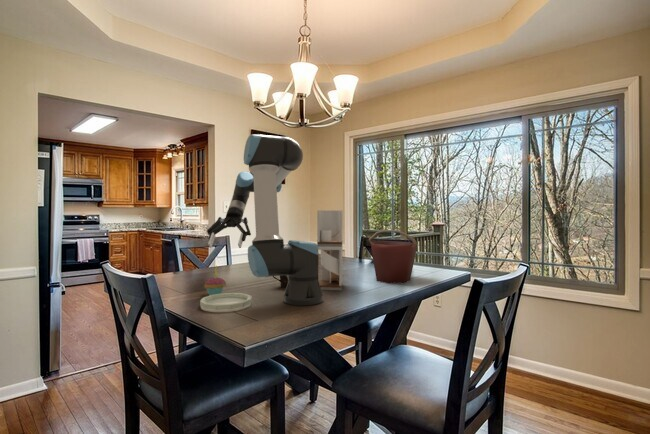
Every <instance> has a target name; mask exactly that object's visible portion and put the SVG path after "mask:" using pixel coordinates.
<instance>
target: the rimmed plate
mask: <svg viewBox="0 0 650 434" xmlns="http://www.w3.org/2000/svg"><path fill="white" fill-rule="evenodd" d="M199 301H200V302H199V306H200V309H201V310H202V311H204V312H207V313H208V312H209V313H232V312H238V311H243V310H245V309H248V308H249V307H251V306H252V295H249V294H247V293H243V292H242V293H241V292H225V293H224V292H223V293H221V294H215V295H210V296H209V295H207V296H204V297H202V298H201V299H200V300H199Z"/></svg>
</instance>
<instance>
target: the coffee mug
mask: <svg viewBox="0 0 650 434" xmlns="http://www.w3.org/2000/svg"><path fill="white" fill-rule="evenodd" d="M272 278H274V279H275V280H277V281H279V282H280V288H282V289H286V287H287V284H288V275H283V276H279V278H277V276H272Z"/></svg>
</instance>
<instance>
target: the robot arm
mask: <svg viewBox="0 0 650 434" xmlns="http://www.w3.org/2000/svg"><path fill="white" fill-rule="evenodd" d="M243 151H244V152H243V164H244V165H246V166H248V171H250V172H248V171H241V172H239V173H238V174H237V176H236V180H235V184H234V190H233V194H232V198H231V201H230V204H229V206H228V209H227V211H226V215H225V217H224V218H222V217H221V216H219V217H218V218H217V220H215V222H214V223H213V224H212V225H210V227H208V229H207V230H206V232H207V234H208V242H207V243H208V244H207V245H208V247H209V248H212V247H213V244H214V243H215V242H214V241H215V239H216V235H217V234H219V233H220V232H221V231H223V230H225V229H228V228H237V229H238V230H239V232H240V237H239V239H238V242H237V245H238V246H237V247H238V248H239V249H242V245H243V242H246V238H247V236H249V237H250V236H251V235H252V233H251V230H250V228H249V225H248V223H249V222H248V219H247V216H246V217H245V216H244V213H245V210H246V206H247V204H248V200H249V197H250V193H253V199H254V200H253V201H254V219H255V220H254V221H255V237H254V238H253V240H252V241H251V245H249V246H248V247H247V261H248V265H249V269H250V272H251V274H252V275H253V276H254V277H256V278H269V277H270V278H271V277H273V276H274V277H280V276H283V275H288V284H287V287H286V288H285V291H284V294H283V302H284V303H285V304H287V305H292V306H312V305H318V304H320V303H322V302H323V301H324V294H323V290H321V287H320V284H319V281H320V280H319V265H320V264H319V257H320V254H319V250H318V246H317V243H315V242H311V241H304V240H295V239H290V240H289V239H288V242H287V244H285V241H284V238H283V237H282V236H281V235H280V228H279V210H278V209H279V208H278V206H279V205H278V193H279V192H281V190H282V185H283V184H282V182H283V181H284V180H285V179H286V178H287V177H288V175H289V174H291V172H293V171H295V170H297V169H298V168H299V167H300V166H301V165H302V163H303V159H304V154H303V149H302V148H301V145H300V144H299V143H298V142H297V141H296V140H294V139H293V138H290V137H287V136H279V135H268V134H267V135H266V134H261V133H260V134H253V133H252V134H250V135H249V136H248V137H247V139H246V141H245V145H244V150H243ZM243 216H244V218H243ZM241 223H243V224H244V226H245V229H246V230H245V229H244V228H243V226H242V225H241Z"/></svg>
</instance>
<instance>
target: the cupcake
mask: <svg viewBox="0 0 650 434" xmlns="http://www.w3.org/2000/svg"><path fill="white" fill-rule="evenodd" d="M214 270H215V272H214V273H215V274H214V277H210V278H208V279H207V280H206V281H205V282H204V288H205V289H206V290H207V292H208V296H210V295H215V294H221V293H222V292H223V289H224V288H225V287H226V285H227V284H226V283H227V282H226V280H225V279H224V278H221V277H218V266H217V265H215V269H214Z"/></svg>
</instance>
